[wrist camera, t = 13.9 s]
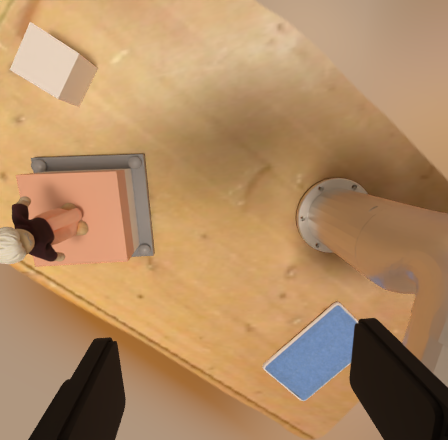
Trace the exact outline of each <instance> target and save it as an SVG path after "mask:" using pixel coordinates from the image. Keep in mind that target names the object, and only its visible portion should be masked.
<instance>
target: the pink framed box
mask: <svg viewBox="0 0 448 440" xmlns="http://www.w3.org/2000/svg"><path fill="white" fill-rule="evenodd" d="M31 161H32V163H31V167H32V169H33V171H34V173H30V174H21V175H16V179H17V183H18V188H19V193H20V197H23V196H26V197H29V198H30V199H31V203H30V205H29V207H28V211H29V220H31V219H33V218H34V217H35V216H37V215H39V214H41V213H44V212H46V211H49V210H52V209H57V208H61V207H62V206H63V205H64V204H66V203H72V204H74V205H75V206H76V208H78V209H79V210H80V211H81V214H82V218H81V220H80V221H84V222H85V223H86V224H87V226H88V232H87V233H86V234H85V235H75V236H73V237H71V238H69V239H67V240H65V241H63V242H60V243H58V244H55V245H51V246H52V247H53V249H54V250H55V251H56V252H61V253H64V255H65V259H64V260H63V261H60V262H58V261H52V262H49V261H46V260H43V259H41V258H38V257H35V256H33V258H34V262H35V267H37V266H55V265H72V264H89V263H107V262H124V261H128V260H129V259H130V257H136V256H153V255H154V243H153V233H152V223H151V213H150V203H149V193H148V183H147V173H146V163H145V154H133V155H103V156H74V157H44V158H31Z"/></svg>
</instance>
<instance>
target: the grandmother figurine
mask: <svg viewBox="0 0 448 440" xmlns="http://www.w3.org/2000/svg"><path fill="white" fill-rule="evenodd" d="M30 203H31V199H30V198H29V197H26V196H23V197H21V198H20V200H19V201H18V202H17V204H14V205H12V220H13V223H14V225H15V229H14V228H12V227H2V228H0V263H3V264H5V263H6V264H13V263H17V262H19V261H21V260H23V259H24V257H25V256H26V254H28V253H29V254H31V255H33V256H35V257H38V258H41V259H43V260H46V261H49V262H52V261H58V262H60V261H63V260H64V259H65V255H64V253H61V252H56V251H55V250H54V249H53V247H52V246H51V245H55V244H58V243H60V242H63V241H65V240H67V239H69V238H71V237H73V236H75V235H85V234H86V233H87V232H88V226H87V224H86V223H85V222H84V221H80V220H81V218H82V214H81V211H80V210H79V209H78V208H76V206H75V205H74V204H72V203H66V204H64V205H63V206H62V207H61V208H57V209H52V210H49V211H46V212H44V213H41V214H39V215H37V216H35V217H34V218H33V219H31V220H29V211H28V207H29V205H30Z"/></svg>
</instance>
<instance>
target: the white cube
mask: <svg viewBox="0 0 448 440" xmlns="http://www.w3.org/2000/svg"><path fill="white" fill-rule="evenodd" d="M10 70H11V71H13V72H14V73H16V74H18V75H19V76H21V77H23V78H24V79H26V80H28V81H29V82H31V83H32V84H34V85H36V86H37V87H39V88H41V89H42V90H44V91H46V92H47V93H49V94H51V95H52V96H54V97H56V98H57V99H59V100H62V101H65V102H67V103H70V104H73V105H76V106H78V107H79V106H80V104H81V102H82V100H83V98H84V96H85V94H86V92H87V90H88V88H89V86H90V84H91V82H92V80H93V78H94V76H95V74H96V72H97V70H98V68H97V67H96V66H94V65H93V64H92V63H91V62H89V61H88V60H87V59H85V58H84V57H83V56H82V55H80V54H79V53H78V52H76V51H75V50H73V49H71V48H70V47H68V46H67V45H65V44H64V43H62V42H61V41H59V40H58V39H56V38H55V37H53V36H51V35H50V34H48V33H47V32H45V31H44V30H42V29H41V28H39V27H38V26H36V25H34V24H33V23H31V22H30V24H29V26H28V28H27V31H26V33H25V35H24V38H23V40H22V42H21V45H20V47H19V49H18V52H17V54H16V56H15V59H14V61H13V63H12V66H11V68H10Z"/></svg>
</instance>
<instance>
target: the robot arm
mask: <svg viewBox="0 0 448 440" xmlns="http://www.w3.org/2000/svg"><path fill="white" fill-rule="evenodd" d="M352 185H353V187H352ZM318 187H320V189H318ZM301 216H302V218H301V219H300V217H301ZM296 222H297V228H298V231H299V233H300V235H301V237H302V238H303V239H304V241H305V242H306V243H307V244H309V245H310V246H311V247H312V248H314V249H316V250H318V251H321V252H327V253H335V254H337V255H338V256H339V257H341V258H342V259H343V260H345V261H346V262H347V263H348V264H350V265H351V266H352V267H354V268H355V269H356V270H358V271H359V272H360V273H362V274H363V275H364V276H365V277H367V278H368V279H370V280H371V281H372V282H374V283H375V284H377V285H378V286H380V287H382V288H384V289H386V290H389V291H392V292H397V293H404V294H416V295H415V300H414V303H413V306H412V310H411V316H410V320H409V323H408V326H407V329H406V333H405V336H404V339H403V342H402V343H401V342H400V341H399V340H398V339H397V338H396V337H395V336H394V335H393V334H392V333H391V332H390V331H389V330H387V329H386V328H385V327H384V326H383V325H382V324H381V323H380V322H379V321H378V320H377V319H375V318H368V319H360V320H359V321H358V323H356V324H355V326H354V337H353V347H352V358H351V369H350V384H351V387H352V389H353V391H354V393H355V394H356V396H357V397H358V399H359V401H360V402H361V404H362V405H363V407H364V409H365V410H366V412H367V413H368V415H369V416H370V418H371V420H372V421H373V423H374V424H375V426H376V428H377V429H378V431H379V432H380V434H381V436H382V437H383V439H384V440H448V213H443V212H438V211H434V210H429V209H425V208H421V207H417V206H413V205H408V204H404V203H400V202H396V201H392V200H388V199H384V198H380V197H376V196H372V195H368V193H367V192H366V190H365V189H364V188H363V187H362V186H361V185H359V184H358V183H356V182H354V181H352V180H349V179H345V178H330V179H326V180H323V181H321V182H319V183H317V184H315V185H314V186H312V187H311V188H310V189H309V190H308V191H307V192H306V193H305V195H304V196H303V198H302V199H301V201H300V203H299V206H298V209H297V215H296ZM316 243H317V244H316ZM124 408H125V392H124V386H123V379H122V373H121V365H120V359H119V352H118V345H117V342H116V341H112V338H97V339H94V340H93V342H92V343H91V345H90V347H89V348H88V350H87V352H86V354H85V355H84V357H83V359H82V360H81V362H80V364H79V365H78V367H77V369H76V370H75V372H74V374H73V375H72V377H71V379H68V380H66V381H65V382H64V383H63V384H62V386H61V387H60V389H59V391H58V392H57V394H56V395H55V397H54V399H53V400H52V402H51V404H50V405H49V407H48V408H47V410H46V412H45V413H44V415H43V417H42V418H41V420H40V421H39V423H38V425H37V427H36V428H35V430H34V431H33V433H32V435H31V436H30V438H29V439H28V440H115V438H116V435H117V431H118V428H119V425H120V422H121V418H122V415H123V412H124Z"/></svg>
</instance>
